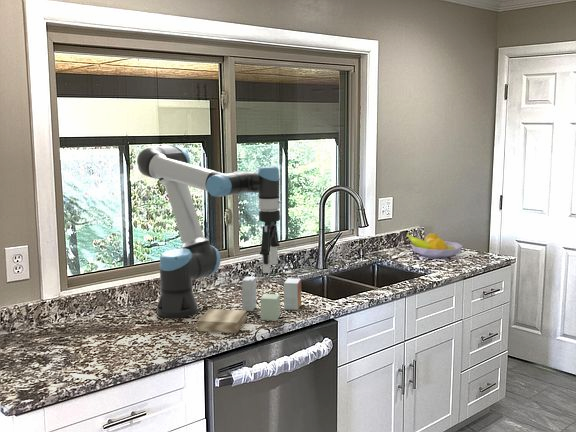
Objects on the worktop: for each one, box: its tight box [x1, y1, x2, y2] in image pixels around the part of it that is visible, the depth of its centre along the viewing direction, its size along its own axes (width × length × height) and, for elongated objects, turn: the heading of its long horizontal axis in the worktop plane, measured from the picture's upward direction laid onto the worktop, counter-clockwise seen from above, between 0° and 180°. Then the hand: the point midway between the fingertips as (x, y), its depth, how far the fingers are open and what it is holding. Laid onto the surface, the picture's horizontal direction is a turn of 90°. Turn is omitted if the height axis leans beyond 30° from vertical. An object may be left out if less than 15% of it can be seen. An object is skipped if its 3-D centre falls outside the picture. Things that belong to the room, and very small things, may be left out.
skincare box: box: [241, 276, 257, 312], centre depth 233 cm, size 6×4×12 cm
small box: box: [283, 277, 302, 311], centre depth 235 cm, size 8×6×10 cm
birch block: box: [196, 308, 248, 334], centre depth 214 cm, size 14×14×4 cm
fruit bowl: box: [406, 232, 463, 259], centre depth 325 cm, size 28×27×11 cm
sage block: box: [259, 293, 281, 322], centre depth 222 cm, size 6×6×8 cm
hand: (270, 268), depth 220 cm, fingers open, 13 cm apart
